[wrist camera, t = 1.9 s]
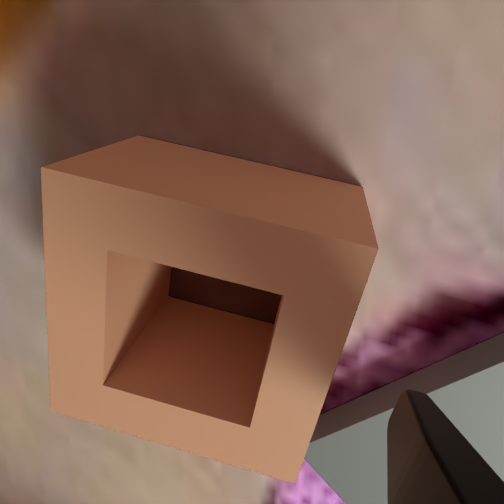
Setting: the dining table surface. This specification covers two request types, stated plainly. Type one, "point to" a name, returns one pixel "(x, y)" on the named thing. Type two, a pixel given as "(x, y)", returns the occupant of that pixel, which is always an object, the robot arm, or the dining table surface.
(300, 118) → the dining table surface
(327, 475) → the post plate
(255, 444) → the collar
